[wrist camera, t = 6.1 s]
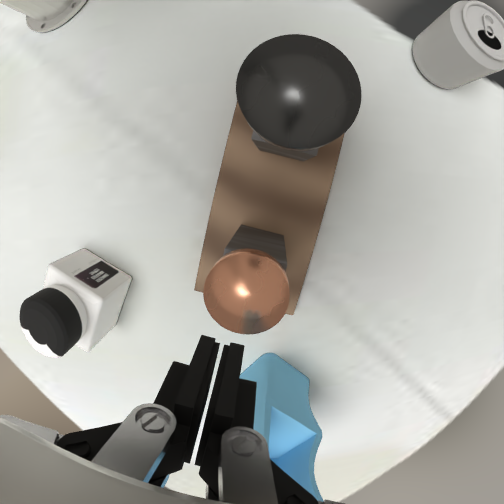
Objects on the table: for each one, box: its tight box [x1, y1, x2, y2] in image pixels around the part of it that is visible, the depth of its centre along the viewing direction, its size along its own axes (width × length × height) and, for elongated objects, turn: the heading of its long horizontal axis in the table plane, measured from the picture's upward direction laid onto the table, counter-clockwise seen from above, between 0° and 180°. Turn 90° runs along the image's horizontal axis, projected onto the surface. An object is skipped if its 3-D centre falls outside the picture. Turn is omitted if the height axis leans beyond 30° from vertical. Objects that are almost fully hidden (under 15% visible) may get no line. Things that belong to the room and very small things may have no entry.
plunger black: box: [236, 34, 361, 151], centre depth 18 cm, size 6×6×12 cm
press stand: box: [194, 101, 344, 315], centre depth 27 cm, size 24×11×12 cm, turn 166°
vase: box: [240, 353, 323, 502], centre depth 28 cm, size 8×8×20 cm
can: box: [413, 1, 504, 89], centre depth 21 cm, size 8×8×12 cm
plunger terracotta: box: [203, 248, 290, 334], centre depth 26 cm, size 6×6×12 cm
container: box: [20, 248, 132, 358], centre depth 30 cm, size 8×8×13 cm
